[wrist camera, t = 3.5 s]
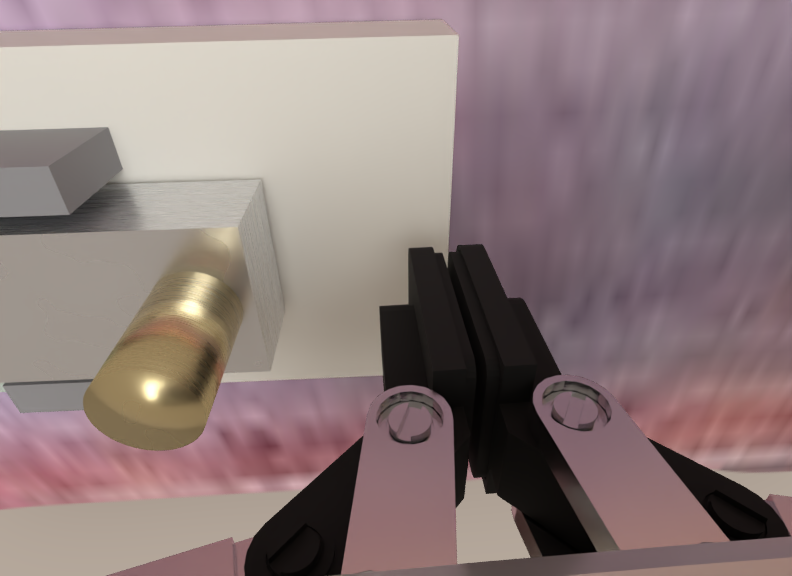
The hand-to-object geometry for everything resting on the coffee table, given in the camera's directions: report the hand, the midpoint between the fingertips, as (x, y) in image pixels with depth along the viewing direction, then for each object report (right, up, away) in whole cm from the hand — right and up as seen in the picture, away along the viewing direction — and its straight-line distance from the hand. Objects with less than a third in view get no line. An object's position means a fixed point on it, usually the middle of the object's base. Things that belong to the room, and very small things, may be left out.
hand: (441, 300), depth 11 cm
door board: (-6, +3, +4) cm, 8 cm away
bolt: (-8, +1, +1) cm, 8 cm away
